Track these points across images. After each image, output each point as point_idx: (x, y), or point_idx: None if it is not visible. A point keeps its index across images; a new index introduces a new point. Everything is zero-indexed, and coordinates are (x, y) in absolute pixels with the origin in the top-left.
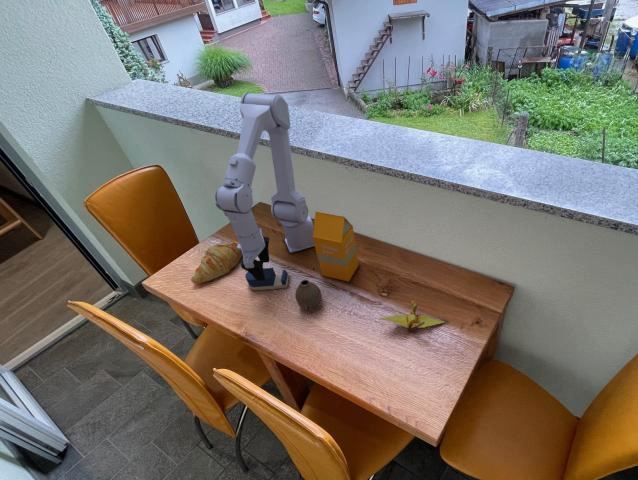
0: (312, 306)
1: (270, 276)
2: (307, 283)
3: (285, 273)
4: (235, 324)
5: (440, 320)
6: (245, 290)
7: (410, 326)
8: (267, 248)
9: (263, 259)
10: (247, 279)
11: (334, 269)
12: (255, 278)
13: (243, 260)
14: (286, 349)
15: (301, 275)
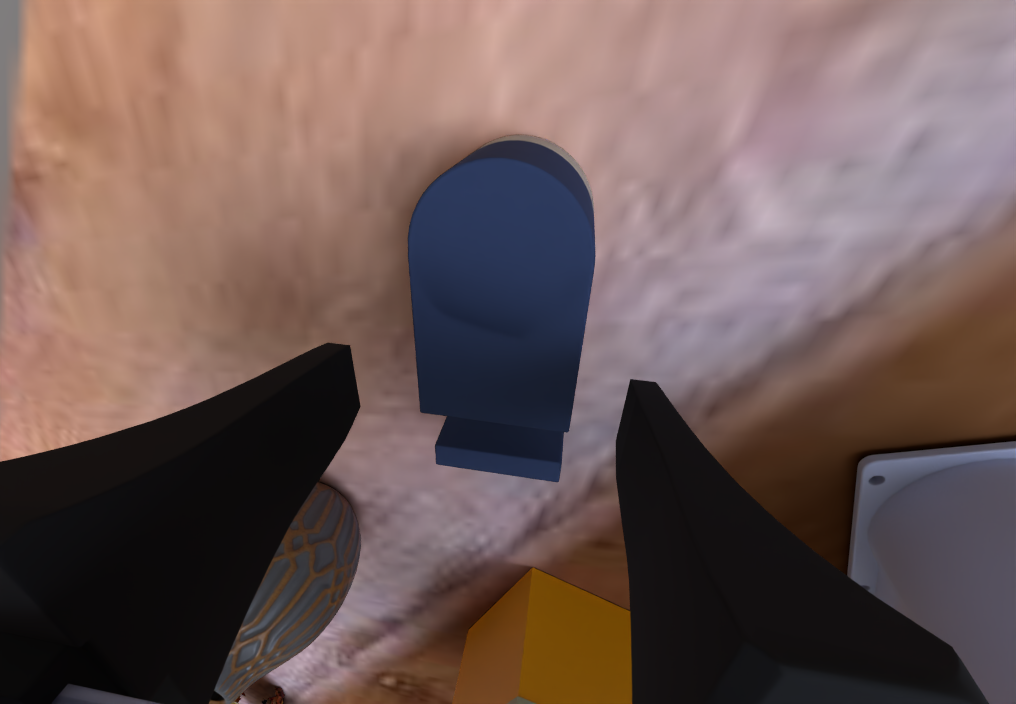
0: None
1: (443, 413)
2: (317, 617)
3: (513, 475)
4: (64, 66)
5: None
6: (459, 91)
7: (234, 701)
8: (633, 661)
9: (628, 436)
10: (424, 193)
11: (482, 674)
12: (300, 358)
13: (11, 579)
14: (35, 394)
15: (560, 488)
